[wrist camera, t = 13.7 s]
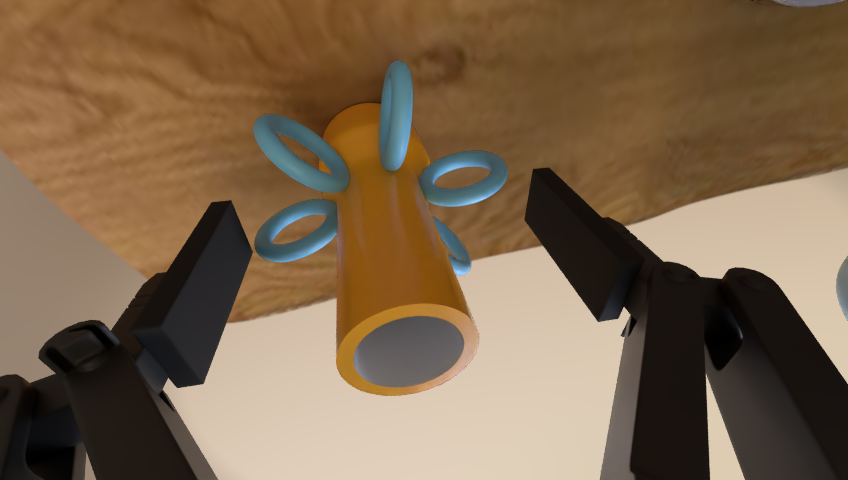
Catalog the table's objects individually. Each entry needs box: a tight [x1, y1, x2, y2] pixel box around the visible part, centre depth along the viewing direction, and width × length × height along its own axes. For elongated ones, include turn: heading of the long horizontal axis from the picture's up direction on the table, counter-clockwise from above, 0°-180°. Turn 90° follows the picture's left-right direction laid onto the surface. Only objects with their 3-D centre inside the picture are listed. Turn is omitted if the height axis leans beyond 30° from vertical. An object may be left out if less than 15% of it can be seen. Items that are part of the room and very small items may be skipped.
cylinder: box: [253, 61, 508, 396], centre depth 16 cm, size 12×10×15 cm
